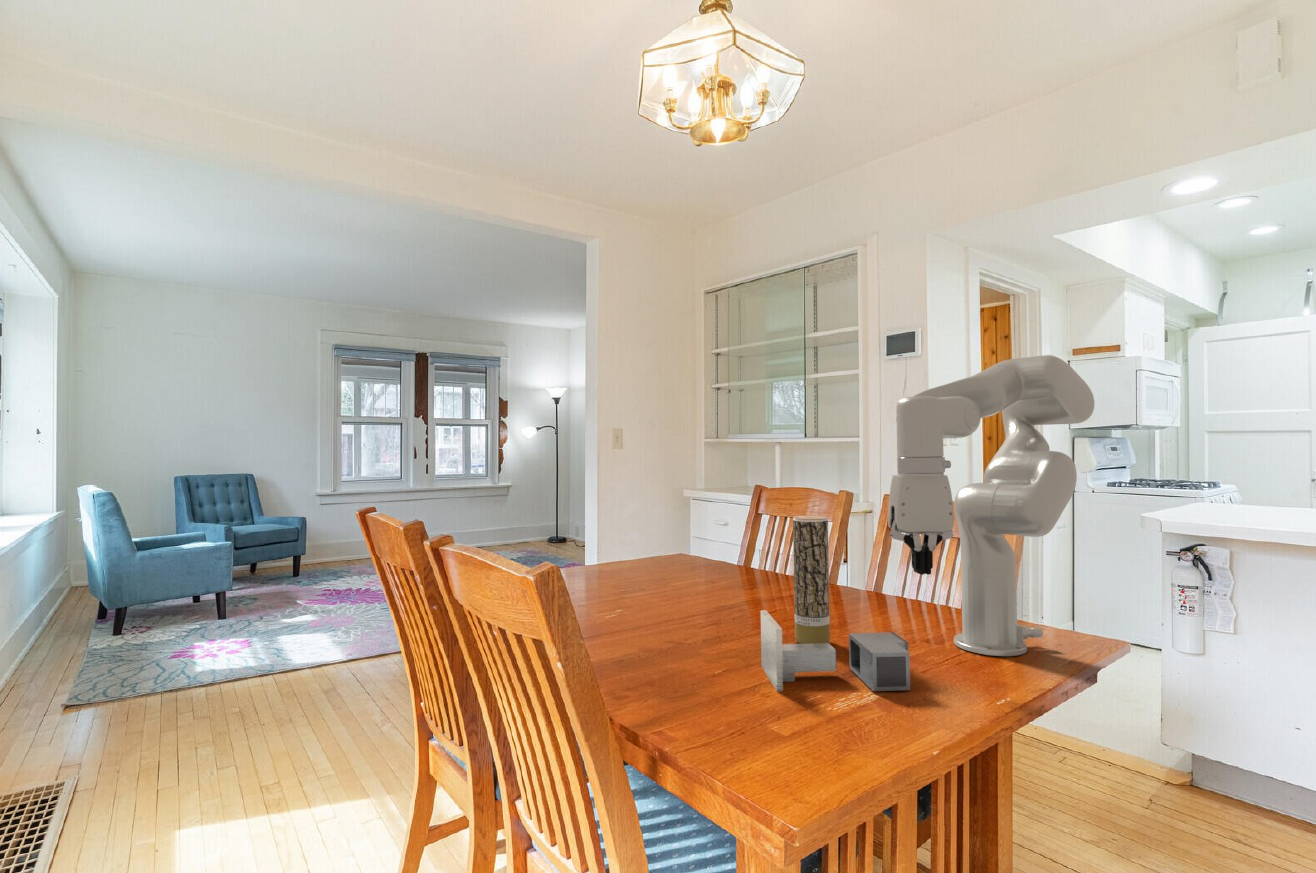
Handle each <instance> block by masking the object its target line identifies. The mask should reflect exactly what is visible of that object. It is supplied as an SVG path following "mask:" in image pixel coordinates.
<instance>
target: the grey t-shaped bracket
mask: <svg viewBox="0 0 1316 873" xmlns="http://www.w3.org/2000/svg"><path fill="white" fill-rule="evenodd" d="M760 648H761V650H760V654H761V655H760V656H761V663H760V664H761V666H760V667H761V668H762V670H763V671H764V673H765V674H766V676H767V678H768V679H769V681H770V683H771V684H772V686H773V687H774V690H776V692H784V683H785V682H796V679H795V678H796V676H795V673H813V672H814V673H815V672H816V673H817V672H818V673H819V672H820V673H821V672H836V671H837V665H838V664H837V650H836V648H834V647H833V646H832V645H831V644H830V642H829V643H815V644H799V643H789V644H788V643H787V644H786V643H785V644H783V629H782V627H781V626H780V625H779V623H778V622H777V621H776V620H775V619H774V618H773V617H772V616H771V614H770V613H769V612H768V611H767V610H765V609H762V610H760Z"/></svg>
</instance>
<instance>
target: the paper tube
mask: <svg viewBox="0 0 1316 873" xmlns="http://www.w3.org/2000/svg"><path fill="white" fill-rule="evenodd" d="M792 518H793V519H792V529H793V530H792V532H793V533H792V534H793V535H792V536H793V537H792V538H793V542H792V543H793V592H794V594H793V595H794V597H793V598H794V599H793V600H794V601H793V602H794V604H793V605H794V640H795V641H796V642H797V644H815V643H829V644H830V640H831V638H830V637H831V634H830V633H831V632H830V628H831V627H830V623H831V622H830V618H831V617H830V615H831V614H830V577H829V576H830V572H829V571H830V570H829V568H830V567H829V564H830V563H829V558H830V557H829V521H828V520H829V519H828V518H829V517H827V516H822V515H796V516H793V517H792Z"/></svg>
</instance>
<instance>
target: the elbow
mask: <svg viewBox="0 0 1316 873" xmlns="http://www.w3.org/2000/svg"><path fill="white" fill-rule="evenodd" d="M848 652H849V654H848V655H849V664H848V665H849V669H850V670H851V671H852V672H853V673H854V674H855V675H856V676H857V677H858V678H859V679H860V680H861V681H862V682H863V683H864V684H865V685H866V687H868V688H869V689H870V690H871V691H872V692H889V691H891V692H892V691H895V692H896V691H911V668H910V667H911V666H910V665H911V663H910V651H909V642H908V641H907V640H905V639H904V638H902V637H901V636H900V635H898V634H897V633H896V632H894V631H893V632H892V631H891V632H887V631H886V632H860V633H859V632H857V633H855V632H853V633H852V632H851V633H848Z"/></svg>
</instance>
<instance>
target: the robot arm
mask: <svg viewBox="0 0 1316 873" xmlns="http://www.w3.org/2000/svg"><path fill="white" fill-rule="evenodd" d="M1094 409H1095V397H1094V394H1093V392H1092V390H1091V388H1090V386H1089V385H1088V384H1087V382H1086V381H1085V380H1084V379H1083V378H1082V377H1081V376H1080V374H1078V373H1077V371H1076V370H1075V369H1073V367H1072V366H1071V365H1070V364H1069V363H1067V362H1066V361H1064V360H1063V359H1062V358H1060V357H1058V356H1054V355H1051V354H1046V355H1035V356H1027V357H1019V358H1012V359H1011V358H1010V359H1006V360H1005V359H1004V360H1002V361H999V362H997V363H995V364H993V365H992V366H991V365H990V366H989V367H988V368H986V369H984V370H981V371H980V372H978V373H976V374H973V375H972V376H969V377H965V378H960V379H958V380H955V381H952V382H949V383H946V384H943V385H939V386H936V387H931V388H929V389H927V390H924V391H921V392H919V393H917V394H914V395H913V396H907V397H902V398H901V399H899V400H898V402H897V404H896V414H895V415H896V420H895V421H896V452H897V453H896V456H897V458H896V459H897V461H896V463H897V465H896V466H897V474H895V475H892V477H891V482H890V488H889V497H888V506H887V507H888V508H887V510H888V511H887V525H888V528H890V534H889V537H890V539H893V540H897V541H900V542H904V543H905V545H906V546H908V548H909V549H910V550H911V554H910V555H911V568H912V569H913V571H914V573H915V574H919V575H931V574H932V569H933V566H934V564H933V562H934V561H933V560H934V559H933V558H934V556H933V552H934V551H935V550H936V547H938V545H939V544H940V543H941V542H942V541H946V540H949V539H952V538H954V532H953V529H954V526H955V524H954V523H955V522H954V521H955V520H954V519H956V523H957V528H958V533H959V542H960V563H961V564H960V571H961V572H960V576H961V578H960V579H961V581H960V582H961V584H960V585H961V586H960V587H961V622H962V623H961V624H962V625H961V627H962V631H961V632H960V633H957V634H955V635H954V637H953V642H954V644H955V646H957V647H958V648H960V649H962V650H964V651H968V652H970V653H974V654H980V655H985V656H994V657H1015V656H1016V657H1017V656H1022V655H1024V654H1026V653H1027V651H1028V645H1027V643H1026V642H1025V641H1026V640H1027V639H1028V638H1033V639H1036V638H1037V639H1041V638H1043V636H1044V632H1043V629H1042V628H1041V627H1037V626H1035V627H1028V626H1027V625H1023V624H1022V625H1021V624H1019V623H1018V608H1017V607H1018V606H1017V605H1018V602H1017V598H1018V597H1017V558H1016V554H1015V551H1014V549H1013V547H1012V546H1011V543H1010V542H1009V540H1008V539H1007V538H1006V536H1005V535H1009V536H1010V535H1011V536H1018V537H1019V536H1020V537H1030V538H1032V537H1033V538H1035V537H1037V538H1039V537H1044V536H1045V535H1047V534H1049V533H1050V532H1051V531H1052V530H1053V529H1054V527H1055V525H1056V524H1057V522H1058V521H1059V519H1060V518H1061V515H1063V512H1064V511H1065V509H1066V507H1067V506H1068V504H1069V502H1070V501H1071V499H1072V497H1073V495H1074V492H1075V491H1076V490H1075V489H1076V486H1077V479H1078V476H1077V467H1076V465H1075V463H1074V460H1073V459H1072V458H1071V457H1070V456H1069V455H1068V454H1066V453H1064V452H1061V451H1056V450H1055V451H1054V450H1050V445H1049V443H1048V441H1047V440H1046V438H1045V437H1044V436H1043V434H1041V432H1040V431H1039V430H1038V429H1037V428H1035V426H1043V425H1044V426H1046V425H1072V424H1073V425H1074V424H1081V423H1084V422H1086V421H1088V420H1089V419H1090V417H1091V416H1092V415H1093V413H1094V411H1095V410H1094ZM1000 412H1001V416H1002V417H1001V418H1002V422H1003V430H1004V437H1005V438H1004V441H1003V443H1002V445H1001V446H1000V447H999V449H998V450H997V452H996V453H995V455H993V457H992V459H991V460H990V461H989V463H988V465H986V468H985V471H984V472H983V482H974V483H970V484H967V485H964V486H963V487H961V488H960V489H959V490H958V491H957V493H956V494H955V497H954V501H953V496H952V495H953V494H952V490H951V485H950V481H949V477H948V475H947V474H945V472H946V469H950V468H951V466H952V462H951V461H950V460H946V459H945V456H944V454H945V453H944V439H962V438H966V437H968V436H971V435H972V434H974V432H976V431H977V430H978V428H979V427H980V424H981V423H980V422H981V419H983V418H989V417H992V416H994V415H997V414H998V413H1000ZM953 502H954V503H953ZM921 534H922V540H921ZM1024 640H1025V641H1024Z"/></svg>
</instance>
